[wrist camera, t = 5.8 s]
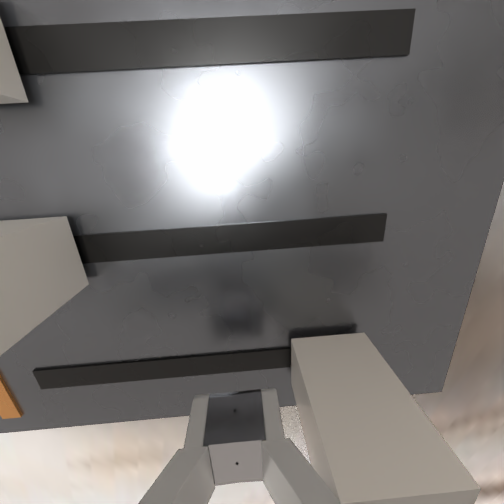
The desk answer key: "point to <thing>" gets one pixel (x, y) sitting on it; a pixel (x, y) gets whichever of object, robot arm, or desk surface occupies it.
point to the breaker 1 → (9, 74)
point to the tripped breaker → (370, 428)
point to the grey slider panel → (246, 191)
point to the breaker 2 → (35, 274)
